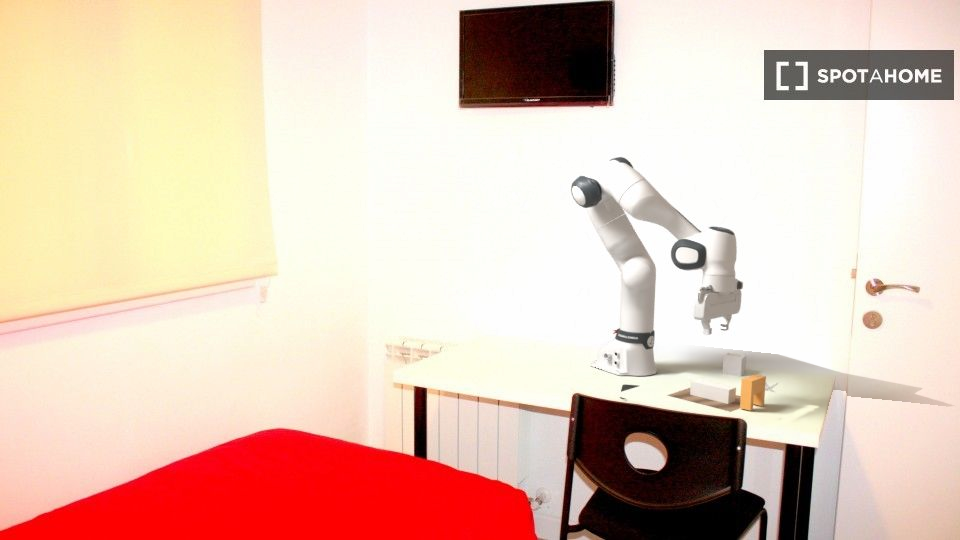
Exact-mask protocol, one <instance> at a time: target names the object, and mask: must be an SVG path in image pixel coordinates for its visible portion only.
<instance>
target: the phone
mask: <svg viewBox="0 0 960 540" xmlns="http://www.w3.org/2000/svg"><path fill="white" fill-rule="evenodd" d="M638 387H639V385H636V384H627V383H626V384H622V385H621V389H620V391H621V393H622V392H624V391H628V390H632V389H634V388H638ZM619 398H620V399H621V400H626V398H624V397H622V396H620V397H619Z"/></svg>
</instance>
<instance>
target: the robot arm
mask: <svg viewBox="0 0 960 540" xmlns="http://www.w3.org/2000/svg"><path fill="white" fill-rule="evenodd" d="M570 188H571V189H570V191H571V195H572V198H573V200H574V201H575V203H576V204H577V205H579V206H580V207H582V208H583V209H586V210H587V213H588V216H589V219H590V220H591V223H592V225H593V227H594V229H595V231H596V232H597V234H598V236H599V238H600V239H601V242H602V243H603V245H604V247H605V249H606V250H607V252H608V254H609V255H610V256H611V258H612V259H613V261H614V262H615V264H616V266H617V267H618V269H619V271H620V272H621V273H620V319H619V327H618V328H617V329H615V330H613V333H612V334H613V335H615V336H614V339H612V340H611V341H609V342H607V344H605V345H603V346H602V347H601V348H600V349H599V351H598V355H597V359H596V360H593V361H592V362H591V363H590V367H593V368H595V367H596V368H595V369H598V368H599V370H601V369H602V371H604V372H607V373H609V374H613V375H617V376H633V377H634V376H635V377H637V376H639V377H641V376H642V377H643V376H651V375H655V374H657V369H656V368H657V367H656V363H655V357H654V356H655V355H654V345H655V329H654V328H655V327H654V324H655V323H654V321H655V305H656V304H655V299H656V285H657V284H656V283H657V282H656V279H657V268H656V264H655V263H654V261H653V259H652V257H651V254H650V253H649V252H648V250H647V249H646V247H645V245H644V244H643V242H642V241H641V239H640V237H639V236H638V233H637V231H636V230H635V229H634V226H633V224H632V223H631V221H630V219H629V218H628V215H630V216H631V217H632V218H634V219H636V220H639V221H642V222H649V223H651V224H656V225H658V226H660V227H662V228H664V229H666V230H667V231H668V233H670V234H671V235H673V236H674V238H675V239H677V241H675V242H674V244H673V245H672V246H671V247H672V248H671V250H670V258H671V261H672V263H673V265H674V266H675V267H676V268H678V269H679V270H683V271H697V270H698V271H699V270H701V271H702V284H701V287H700V289H699V290H698V291H697V294H696V295H695V298H694V305H693V312H692V313H693V314H692V315H693V318H694V319H695V320H696V321H700V322H701V323H700V324H701V326H702V328H703V331H702V333H703V335H704V336H705V335H706V336H709V335H712V331H713V328H711V325H710V324H711V321H712V320H714V319H717V318H722V322H721V323H720V331H725V332H726V331H729V329H730V324H731V320H732V315H737V314H739V312H740V310H741V308H742V307H741V306H742V305H741V303H742V290H743V288H744V283H743V281H742V280H739V279H738V278H736V270H735V266H736V265H735V264H736V262H737V252H738V251H737V237H736V234H735V232H733V231H732V230H731V229H730V228H729V229H728V228H725V227H722V226H721V227H720V226H708V227H707V228H706V229H705V230H703V231H701V230H700V229H698V228H697V227H696V226H695V225H694V224H693V223H692V222H691V221H690V220H689V219H687V218H686V217H685V216H684V215H683V214H682V213H681V212H680V211H679V210H678V209H676V208H675V207H674V206H673V205H672V204H671V203H670V202H669V201H668V200H667V199H666V198H665V197H664V196H662V195H661V194H660V192H659V191H658V190H657V188H655V187H654V186H653V185H652V184H651V182H650V181H648V180H647V179H646V178H645V177H644V176H643V175H642V174H641V173H640V172H639V171H637V170H636V169H635V168H634V166H633V165H632V163H631V162H630V160H628V159H627V158H625V157H623V156H619V157H614V158H611V159H610V160H608V161H606V162H603V163H601V164H598V165H597V166H595V167H594V168H592V169H590V170H588V171H587V172H586V173H584V174H582V175H579V176H578V177H577V178H576V179H575V180H573V182H572V184H571V187H570ZM626 213H627V214H628V215H627V214H626Z"/></svg>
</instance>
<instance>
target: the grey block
mask: <svg viewBox="0 0 960 540" xmlns="http://www.w3.org/2000/svg"><path fill="white" fill-rule="evenodd" d="M746 363H747V355H746V354H744V355H743V354H737V353H729V352H728V353H726V354H725V355H723V356H722V374H723V375H729V376H734V377H742V376H743V375H744V374H745V373H746V365H747V364H746Z"/></svg>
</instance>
